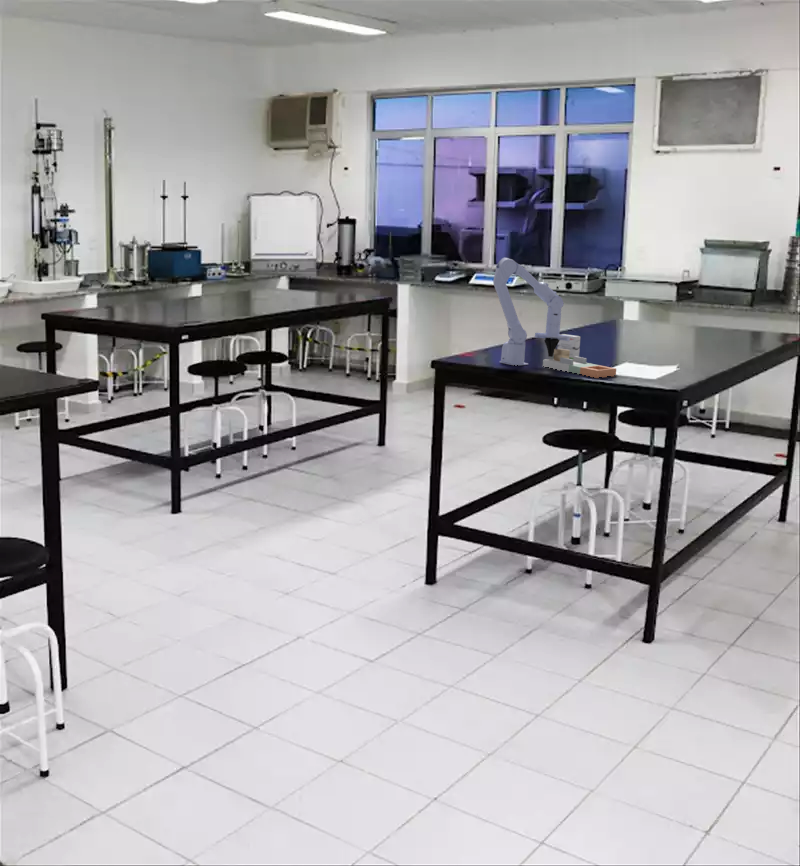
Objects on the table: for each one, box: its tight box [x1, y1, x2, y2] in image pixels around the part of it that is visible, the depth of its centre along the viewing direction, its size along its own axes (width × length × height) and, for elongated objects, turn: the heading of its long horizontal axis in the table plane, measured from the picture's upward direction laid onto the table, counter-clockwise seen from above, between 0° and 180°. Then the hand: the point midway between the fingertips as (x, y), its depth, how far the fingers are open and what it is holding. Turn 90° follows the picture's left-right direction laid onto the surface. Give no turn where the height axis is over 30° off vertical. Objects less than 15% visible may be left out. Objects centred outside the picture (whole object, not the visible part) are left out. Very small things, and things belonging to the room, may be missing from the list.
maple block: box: [552, 348, 570, 361], centre depth 422 cm, size 4×4×4 cm
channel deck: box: [542, 356, 617, 379], centre depth 416 cm, size 28×12×5 cm, turn 40°
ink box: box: [556, 333, 582, 359], centre depth 437 cm, size 9×5×12 cm, turn 53°
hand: (550, 356), depth 427 cm, fingers closed
